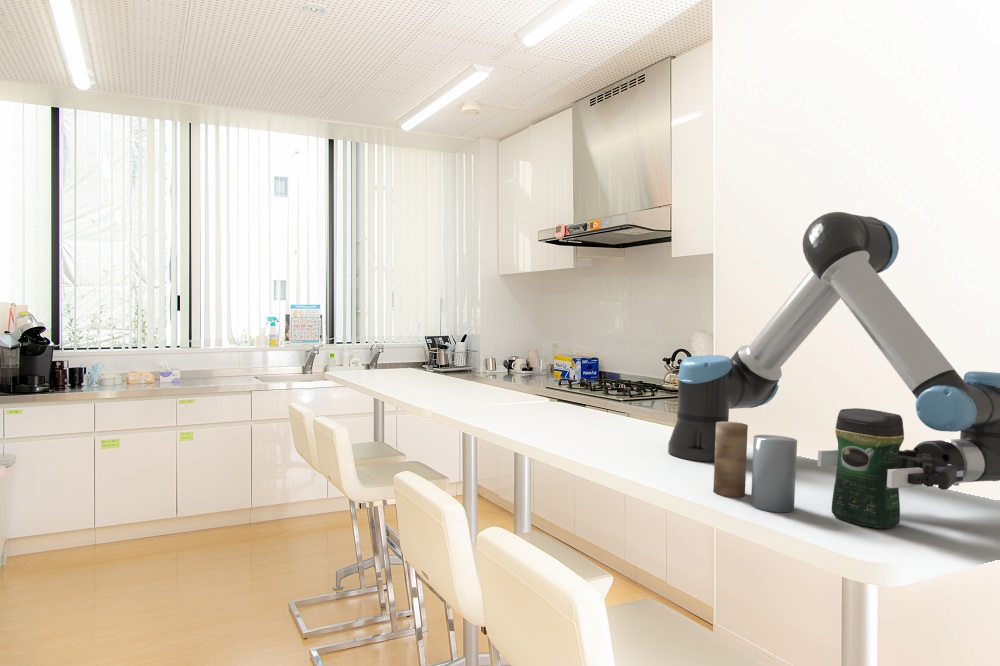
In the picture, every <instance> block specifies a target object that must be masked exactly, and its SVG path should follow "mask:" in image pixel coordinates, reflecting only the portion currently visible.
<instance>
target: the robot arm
mask: <svg viewBox="0 0 1000 666" xmlns="http://www.w3.org/2000/svg"><path fill="white" fill-rule="evenodd" d="M899 244H900V243H899V238H898V234H897V232H896V231H895V229H894V228H893V227H892V226H891V225H890V224H889V223H887V222H886V221H884V220H880V219H878V218H877V217H874V216H864V215H858V214H851V213H849V212H843V211H832V212H828V213H825V214H822V215H821V216H819V217H817V218H815V219H814V220H813V221H812V222H811V223H810V224H809V225H808V226H807V228H806V230H805V232H804V234H803V238H802V251H803V254H804V257H805V260H806V262H807V264H808V265H809V267H810V268H811V269H810V270H809V272H807V274H806V275H805V277H803V279H802V280H801V282H800V283H799V284H798V285H797V286H796V288H794V290H793V291H792V293H791V294H790V295H789V296H788V298H786V300H785V301H784V302H783V304H782V305H781V306H780V307H779V308H778V310H777V311H776V312H775V314H774V315H773V316H772V317H771V319H770V320H769V321H768V323H766V324H765V326H764V328H762V330H761V331H760V332H759V333H758V335H757V336H756V337H755V339H754V340H753V341H752V342H751V344H749V345H741V346H740V347H739V348H738V349H737V350H736V352H734V354H733V355H732V356H731V358H730V357H729V356H726V355H720V354H719V355H718V354H708V355H705V354H704V355H702V354H701V355H694V356H689V357H686V358H684V359H682V360H681V362H680V363H679V370H678V375H677V380H678V383H677V386H678V387H677V388H678V389H677V414H676V415H677V417H676V422H675V425H674V428H673V429H672V432H671V436H670V439H669V441H668V447H667V448H668V449H667V452H668V453H669V454H670V455H672V456H675V457H676V458H677V457H678V458H681V459H685V460H692V461H699V462H709V463H710V462H713V463H714V462H715V436H716V422H729V419H730V417H729V416H730V414H729V413H730V410H731V409H732V410H733V409H752V408H753V409H754V408H757V407H761V406H763V405H765V404H768V403H769V402H771V400H773V398H775V396H776V394H777V393H778V391H779V385H778V383H779V382H780V379H781V378H782V375H783V372H782V367H783V365H785V364H786V362H787V361H788V359H789V358H790V357H791V356H792V355H793V354H794V352H796V351H797V350H798V348H799V347H801V344H802V343H803V342H804V341H805V340H806V339H807V338H808V336H809V335H810V334H811V333H812V332H813V331H814V329H816V327H817V326H818V325H819V324H820V322H822V320H823V319H824V318H825V317H826V315H828V313H829V312H830V311H831V310H832V309H833V308H834V306H835V305H836V304H837V303H838V302H839V301H840V300H842V301H843V303H844V304H845V306H846V307H847V309H848V310H849V311H850V312H851V313H852V314H853V316H854V318H855V319H856V320H857V321H858V323H859V324H860V325H861V327H862V328H863V329H864V332H866V333H867V335H868V336H869V337H870V339H871V340H872V341H873V343H874V344H875V346H876V347H877V348H878V349H879V351H880V352H881V353H882V355H883V356H884V358H885V359H886V360H887V361H888V362H889V364H890V365H891V366H892V368H893V369H894V371H895V372H896V373H897V374H898V375H899V377H900V378H901V380H902V381H903V382H904V384H905V385H906V386H907V388H908V389H909V390H910V392H911V393H912V395H913V396H914V397H915V399H916V401H915V410H916V415H917V417H918V419H919V420H920V421H921V423H922V424H924V426H926V427H927V428H930V429H932V430H934V431H939V432H948V433H949V432H951V433H952V432H953V433H954V432H956V433H957V432H960V436H959V438H954V439H953V438H952V439H941V440H940V439H939V440H924V441H922V442H920V443H918V444H916V445H915V447H914V448H913V449H904V450H901V449H899V455H898V469H888V474H887V487H889V488H899V489H900V488H908V487H910V488H911V487H921V486H923V485H924V486H926V487H927V488H928V487H929V488H931V487H934V486H937V487H938V489H940V490H948V489H950V487H952V486H957V487H958V486H959V485H960V484H961V483H975V482H999V481H1000V372H993V371H967V372H965V373H964V376H963V378H962V376H960V374H959V373H958V371H956V369H955V368H954V366H953V365H952V364H951V363H950V362H949V361H948V359H947V358H946V357H945V356H944V354H943V353H942V351H941V350H940V349H939V348H938V347H937V346H936V344H935V343H934V342H933V341H932V339H931V338H930V337H929V336H928V335H927V333H926V332H925V331H924V329H922V327H921V326H920V324H919V323H918V322H917V321H916V319H915V318H914V317H913V316H912V315H911V313H910V312H909V311H908V309H907V308H906V307H905V305H903V304H902V302H901V301H900V300H899V298H898V297H897V296H896V295H895V294H894V293H893V291H892V290H891V288H890V287H889V286H888V285H887V284H886V282H885V281H884V280H883V279H882V277H881V276H880V275H879V274H880V273H882V272H884V271H886V270H888V269H890V267H891V266H892V265H893V264H894V262H895V260H896V259H897V258H898V255H899V250H900V249H899V248H900V245H899ZM837 462H838V448H837V449H818V450H817V464H816V465H817V466H818V467H824V468H825V467H837Z"/></svg>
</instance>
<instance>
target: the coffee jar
mask: <svg viewBox="0 0 1000 666" xmlns="http://www.w3.org/2000/svg"><path fill="white" fill-rule="evenodd" d="M836 419H837V420H836V424H835V429H834V430H835V431H834V432H835V436H836V439H837V449H838V462H837V466H836V473H835V479H834V485H833V493H832V500H831V513H832V514H833V516H834V517H836V518H838V519H841V520H844V521H846V522H850V523H853V524H856V525H859V526H864V527H868V528H874V529H875V528H877V529H878V528H883V529H886V530H887V529H891V528H894V527H896V526H897V525H899V524H900V521H901V506H900V505H901V504H900V503H901V502H900V490H899V489H900V487H899V488H889V487H887V474H888V469H898V455H899V450H901V449H900V448H901V447H902V444H903V442H904V439H905V435H904V434H905V430H904V422H903V417H902V416H901V415H900V414H897V413H893V412H887V411H882V410H875V409H871V408H870V409H869V408H858V407H857V408H856V407H855V408H842V409H840V411H839V412H838V415H837V418H836Z"/></svg>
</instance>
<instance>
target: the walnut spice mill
mask: <svg viewBox="0 0 1000 666" xmlns="http://www.w3.org/2000/svg"><path fill="white" fill-rule="evenodd" d="M748 428H749V427H748V424H745V423H742V422H737V421H728V422H716V436H715V462H713V463H714V464H713V466H714V469H713V490H712V491H713V493H714V494H715V493H716V494H715V495H719V496H721V497H727V498H743V497H745V495H746V482H747V481H746V478H747V456H748V455H747V453H748V430H749V429H748Z"/></svg>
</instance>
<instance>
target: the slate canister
mask: <svg viewBox="0 0 1000 666" xmlns="http://www.w3.org/2000/svg"><path fill="white" fill-rule="evenodd" d="M752 447H753V450H752V469H751V497H750V504H751V506H752V507H754V508H756V509H758V510H763V511H767V512H773V513H791V512H793V511H794V510H795V498H796V495H795V494H796V479H797V477H796V474H797V453H798V450H797V449H798V439H796V438H793V437H788V436H783V435H773V434H757V435H754V436H753V445H752Z"/></svg>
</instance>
